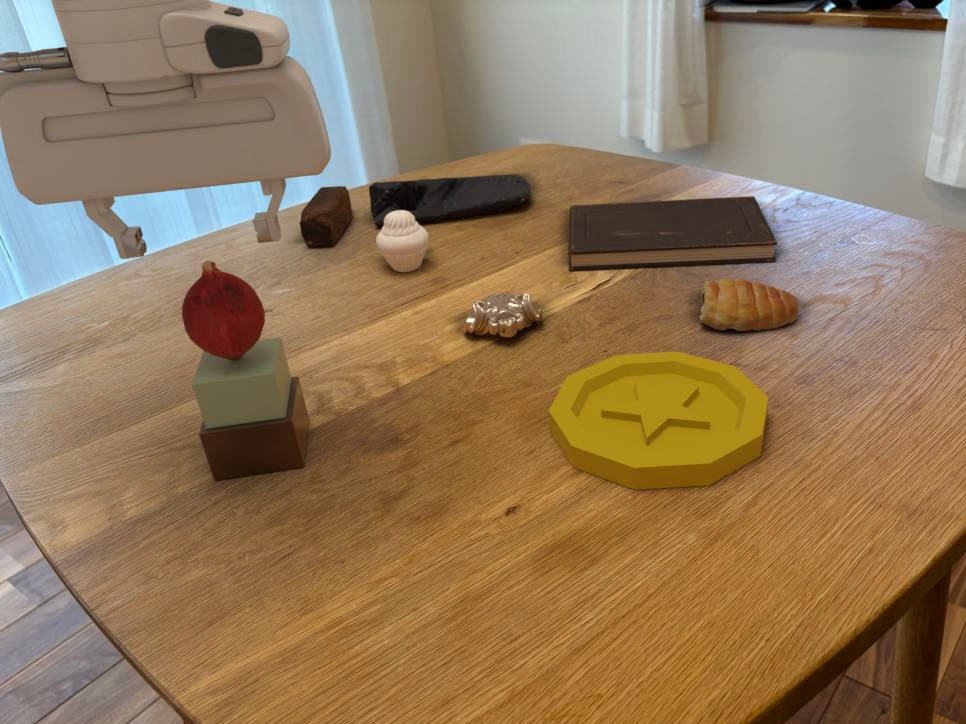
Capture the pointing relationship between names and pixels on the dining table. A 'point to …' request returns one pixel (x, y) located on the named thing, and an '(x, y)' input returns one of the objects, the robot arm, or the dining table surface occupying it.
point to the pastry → (746, 306)
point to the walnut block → (259, 442)
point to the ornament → (501, 315)
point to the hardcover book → (669, 234)
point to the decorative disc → (659, 420)
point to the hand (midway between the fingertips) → (203, 247)
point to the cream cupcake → (402, 241)
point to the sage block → (243, 386)
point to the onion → (222, 313)
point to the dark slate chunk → (448, 197)
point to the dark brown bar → (326, 216)
